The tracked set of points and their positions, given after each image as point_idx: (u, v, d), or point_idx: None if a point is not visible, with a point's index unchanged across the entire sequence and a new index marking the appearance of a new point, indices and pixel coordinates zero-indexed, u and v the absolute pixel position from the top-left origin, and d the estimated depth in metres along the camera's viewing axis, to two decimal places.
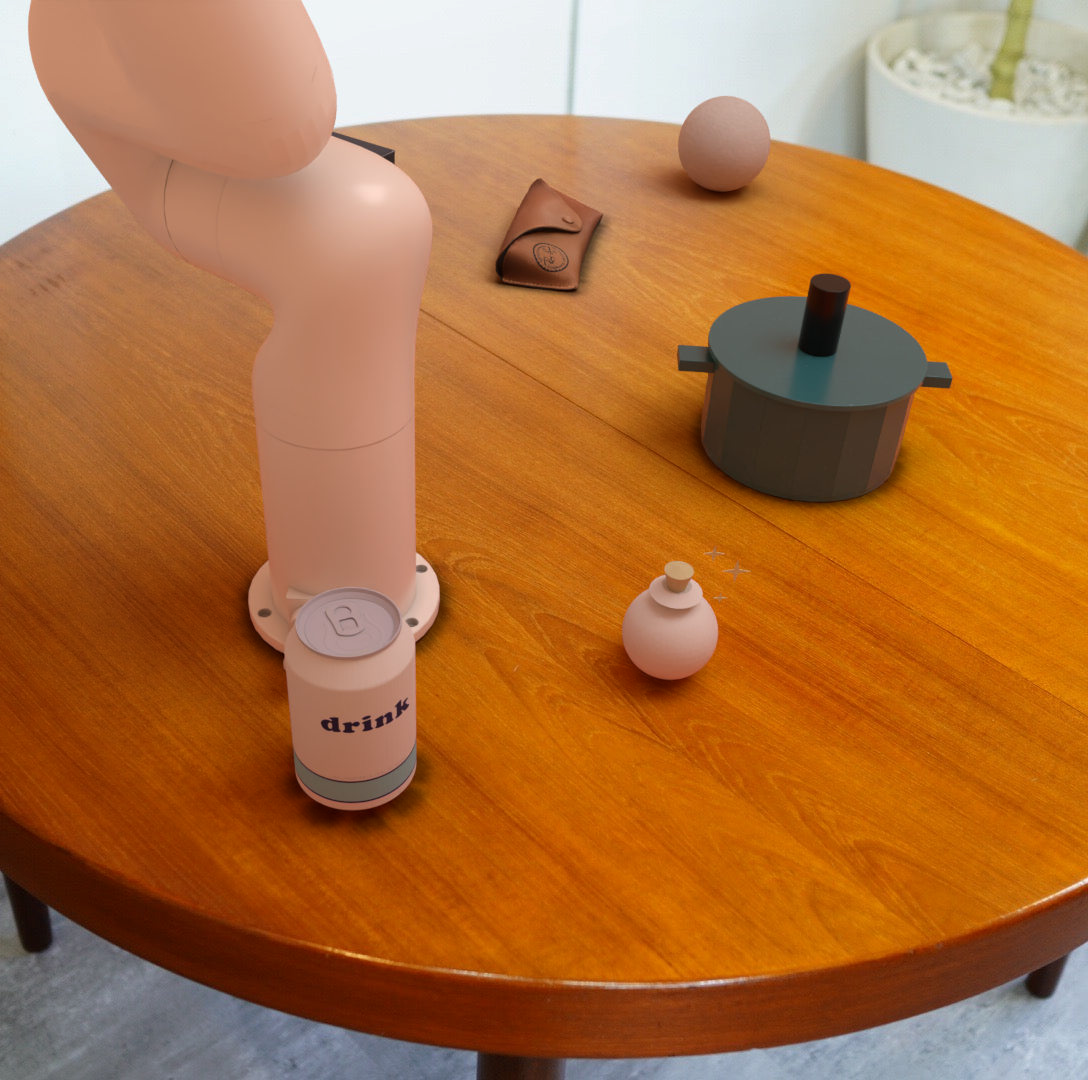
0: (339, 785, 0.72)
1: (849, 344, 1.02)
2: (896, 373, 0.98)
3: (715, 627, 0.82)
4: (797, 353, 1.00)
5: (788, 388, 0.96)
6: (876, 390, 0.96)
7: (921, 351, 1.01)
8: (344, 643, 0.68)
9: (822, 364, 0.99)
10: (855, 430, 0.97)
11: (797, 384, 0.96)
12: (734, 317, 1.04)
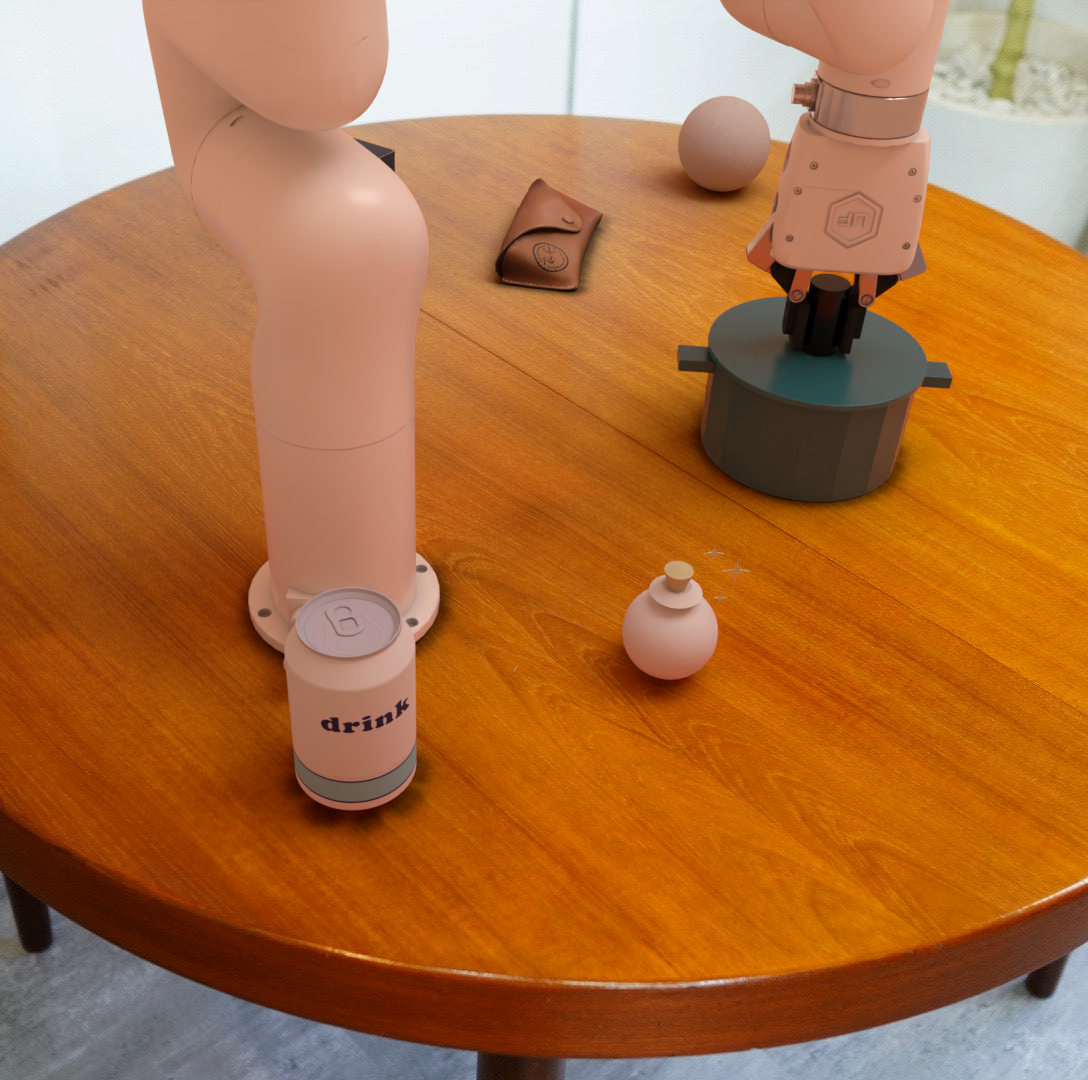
0: (339, 785, 0.72)
1: None
2: (896, 373, 0.98)
3: (715, 627, 0.82)
4: (797, 353, 1.00)
5: (788, 388, 0.96)
6: (876, 390, 0.96)
7: (921, 351, 1.01)
8: (345, 643, 0.68)
9: (822, 364, 0.99)
10: (855, 430, 0.97)
11: (797, 384, 0.96)
12: (734, 317, 1.04)
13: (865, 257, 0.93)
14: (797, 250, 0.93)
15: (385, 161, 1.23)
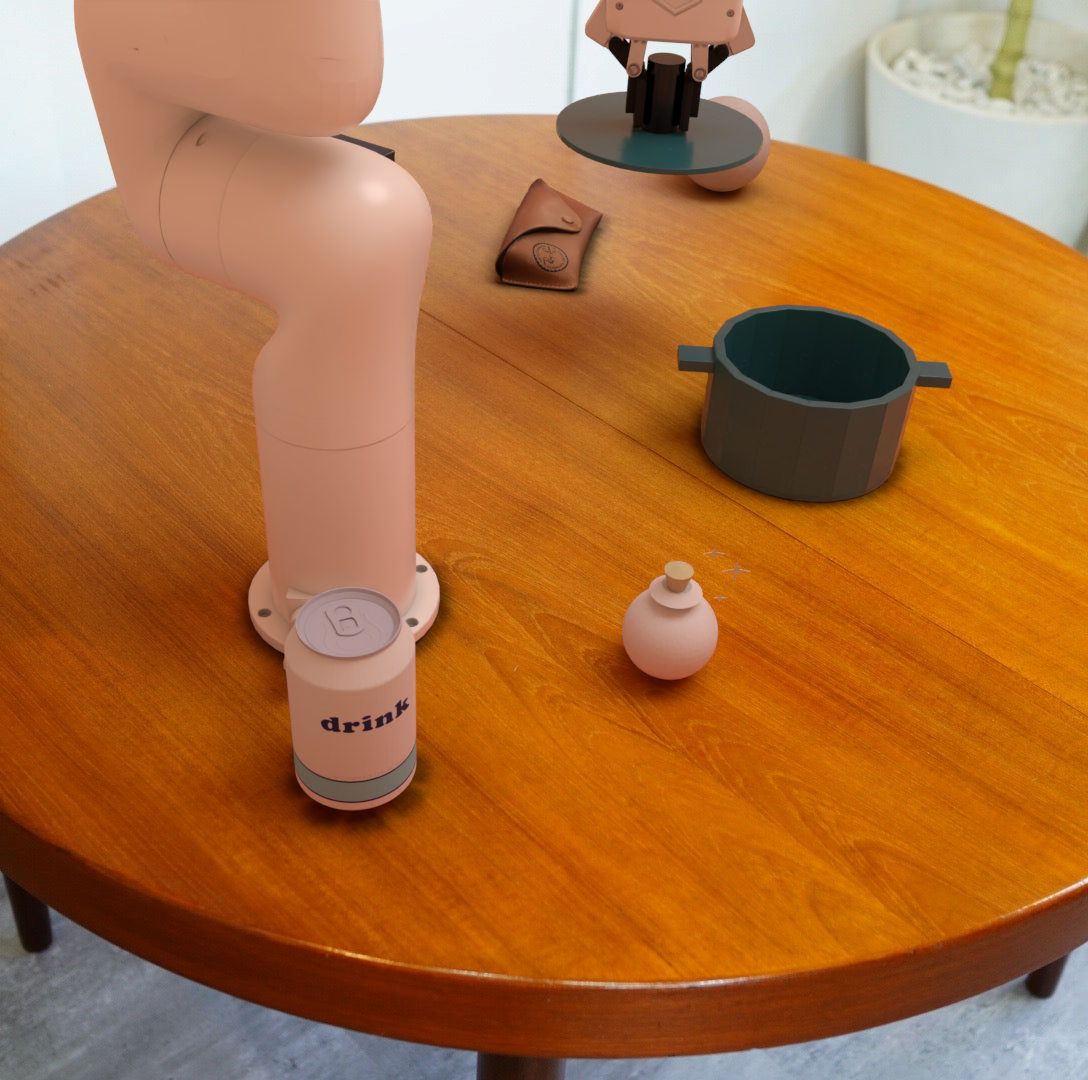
0: (339, 785, 0.72)
1: (691, 126, 1.07)
2: (730, 147, 1.04)
3: (715, 627, 0.82)
4: (639, 131, 1.05)
5: (624, 155, 1.01)
6: (708, 158, 1.01)
7: (759, 132, 1.06)
8: (344, 643, 0.68)
9: (661, 139, 1.04)
10: (855, 430, 0.97)
11: (633, 153, 1.02)
12: (585, 105, 1.09)
13: (692, 25, 0.98)
14: (627, 18, 0.98)
15: None
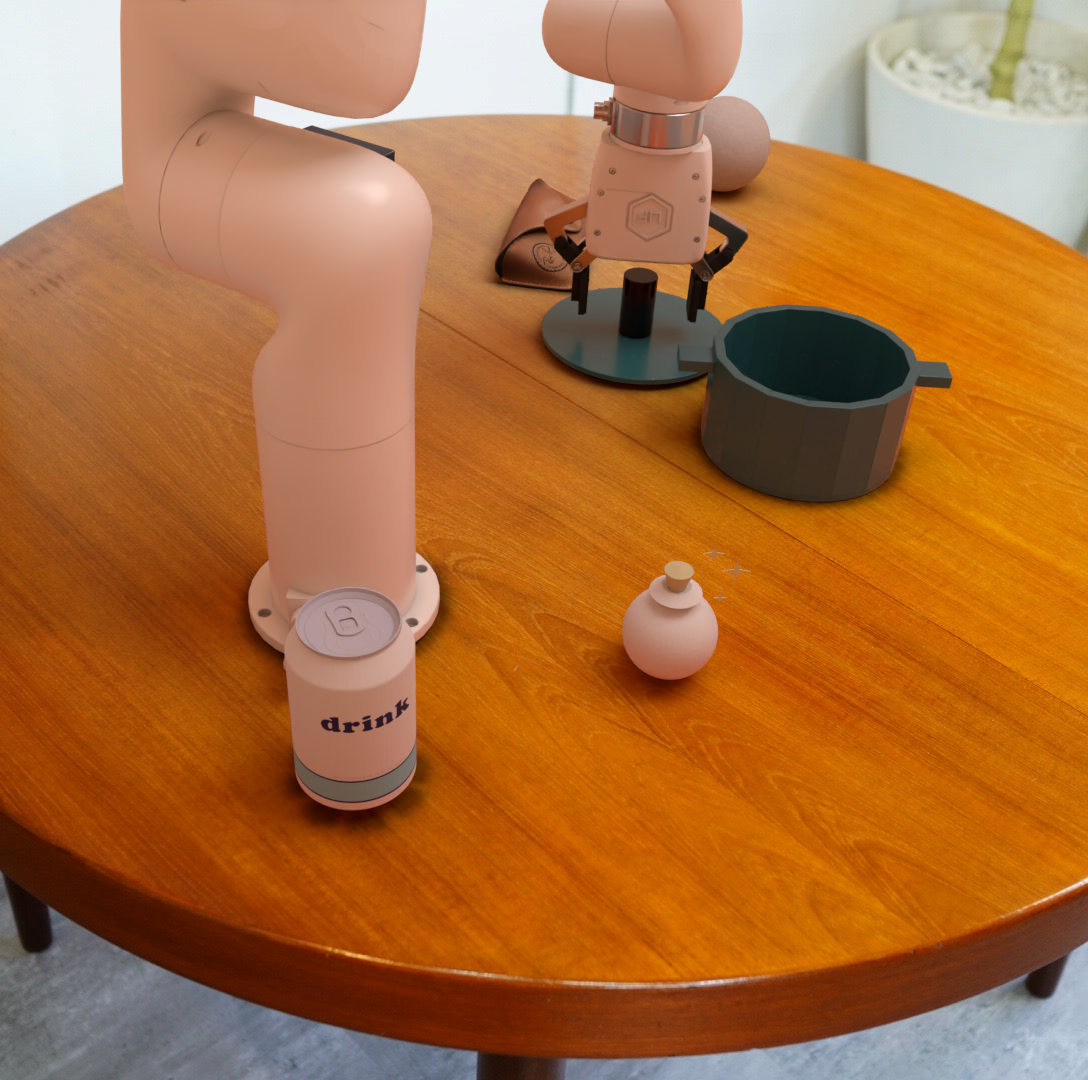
0: (339, 785, 0.72)
1: (663, 328, 1.18)
2: None
3: (715, 627, 0.82)
4: (616, 336, 1.17)
5: (602, 365, 1.13)
6: None
7: None
8: (344, 643, 0.68)
9: (636, 345, 1.16)
10: (855, 430, 0.97)
11: (610, 362, 1.13)
12: (568, 305, 1.21)
13: (662, 249, 1.10)
14: (604, 243, 1.09)
15: None
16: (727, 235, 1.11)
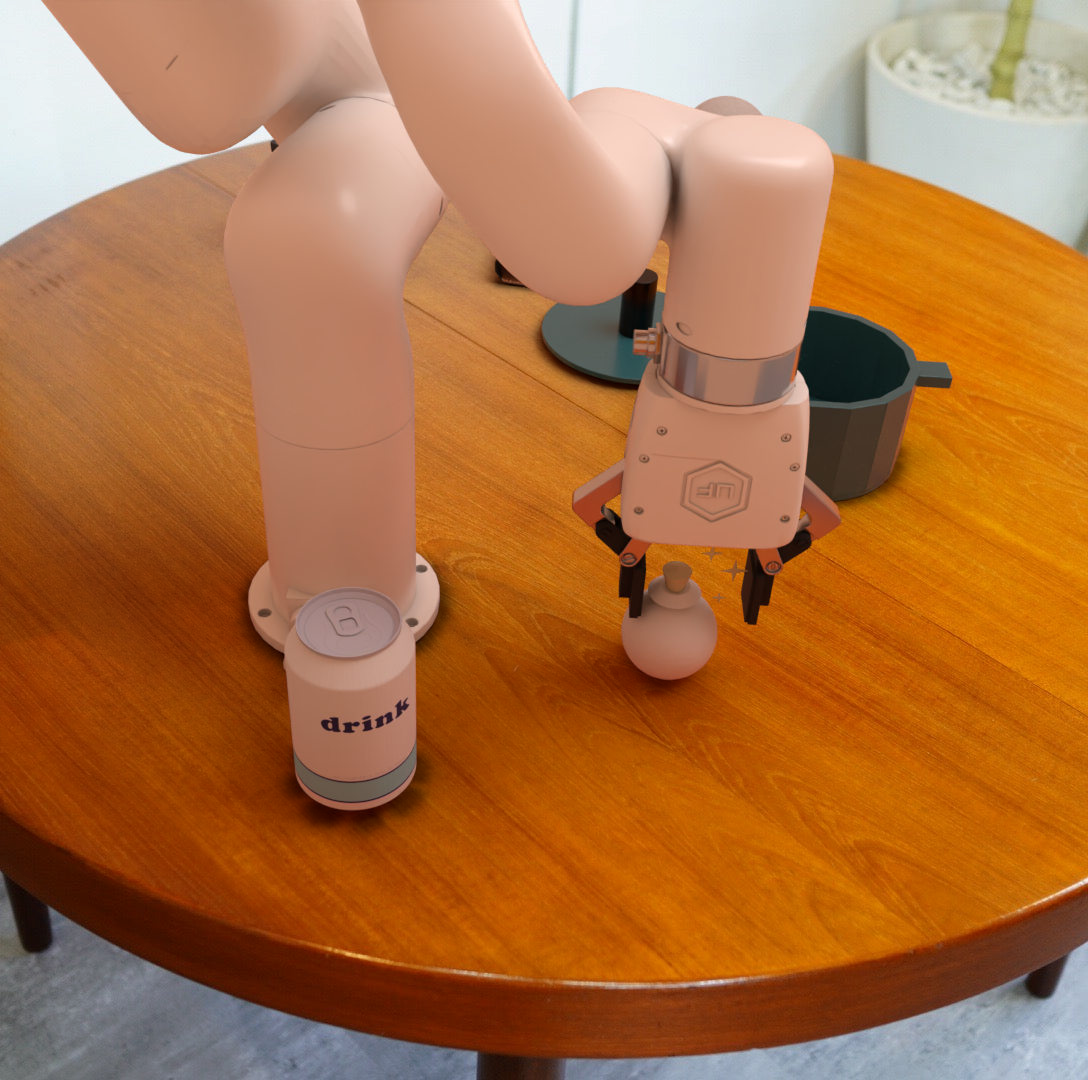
0: (339, 785, 0.72)
1: None
2: None
3: (714, 627, 0.82)
4: (616, 336, 1.17)
5: (602, 365, 1.13)
6: None
7: None
8: (345, 643, 0.68)
9: None
10: (855, 430, 0.97)
11: (610, 362, 1.13)
12: (568, 305, 1.21)
13: (734, 532, 0.75)
14: (649, 524, 0.75)
15: None
16: (812, 515, 0.77)
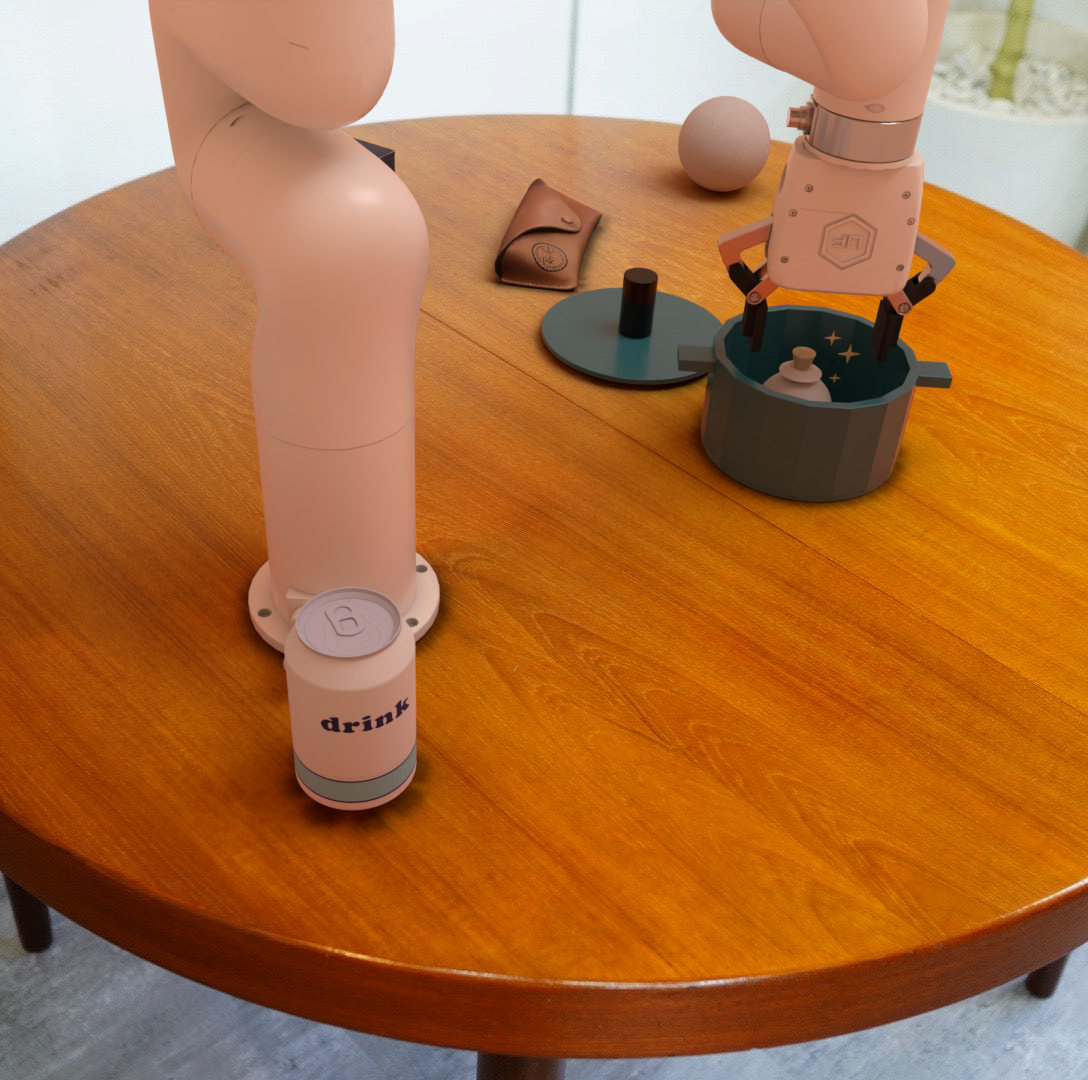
0: (339, 785, 0.72)
1: (663, 328, 1.18)
2: None
3: (830, 401, 1.03)
4: (616, 336, 1.17)
5: (602, 365, 1.13)
6: None
7: None
8: (345, 643, 0.68)
9: (636, 345, 1.16)
10: (855, 430, 0.97)
11: (610, 362, 1.13)
12: (568, 305, 1.21)
13: (859, 279, 0.94)
14: (792, 271, 0.94)
15: (385, 161, 1.23)
16: (931, 262, 0.96)
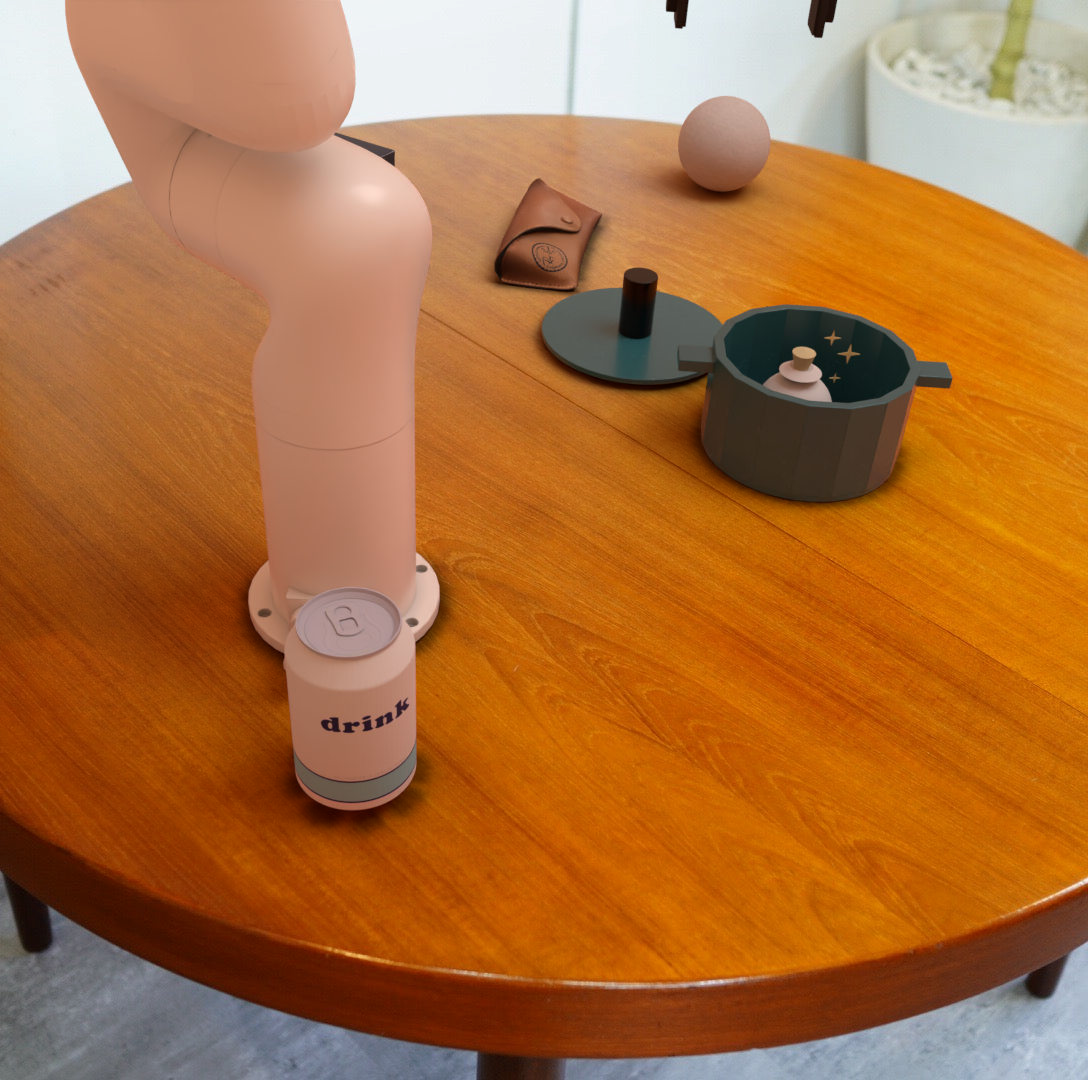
0: (339, 785, 0.72)
1: (663, 328, 1.18)
2: None
3: (830, 401, 1.03)
4: (616, 336, 1.17)
5: (602, 365, 1.13)
6: None
7: None
8: (345, 643, 0.68)
9: (636, 345, 1.16)
10: (855, 430, 0.97)
11: (610, 362, 1.13)
12: (568, 305, 1.21)
13: None
14: None
15: None
16: None
